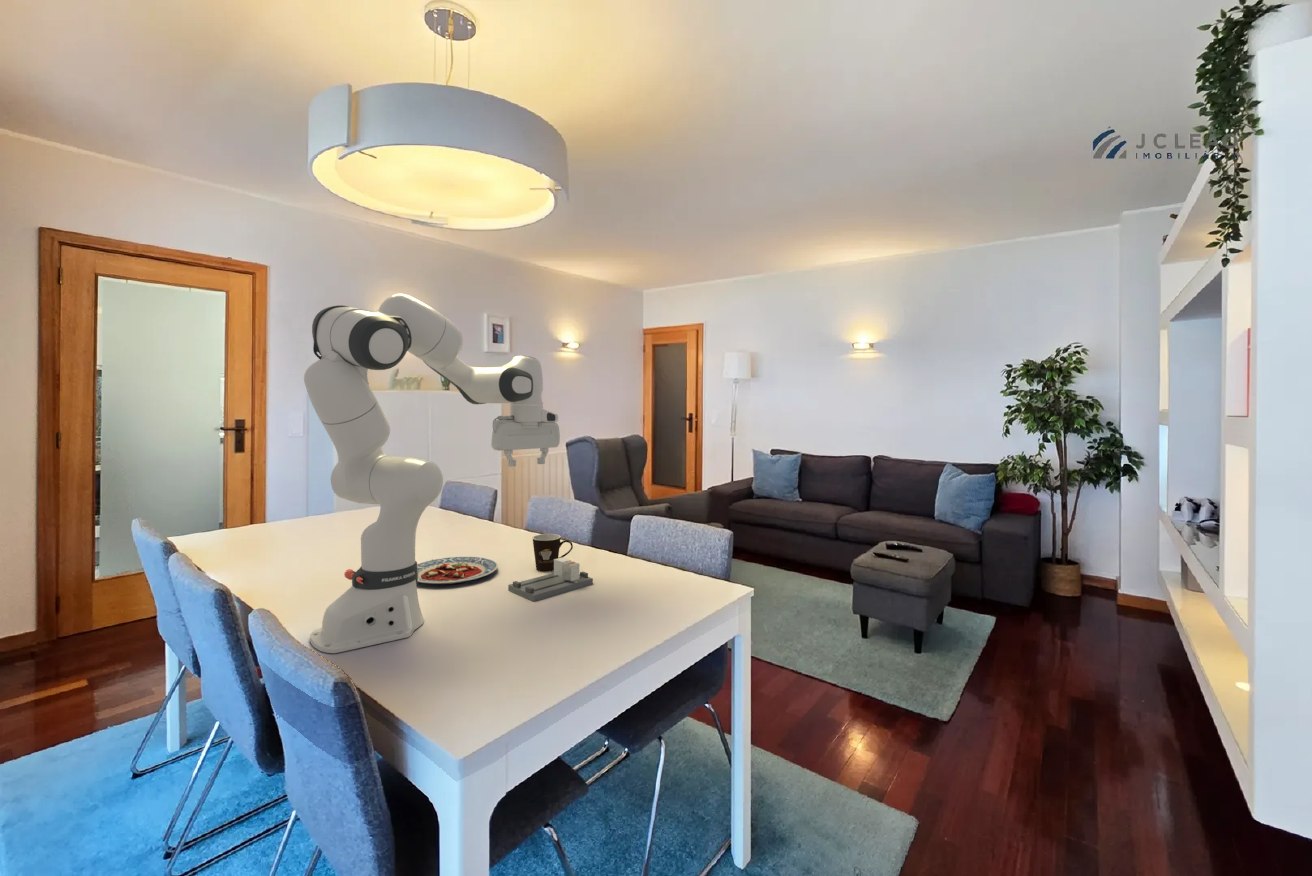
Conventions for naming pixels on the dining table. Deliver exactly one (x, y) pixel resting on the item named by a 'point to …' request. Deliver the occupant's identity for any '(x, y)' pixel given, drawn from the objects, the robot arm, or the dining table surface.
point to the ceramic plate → (454, 569)
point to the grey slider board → (549, 584)
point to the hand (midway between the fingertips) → (526, 465)
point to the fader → (570, 571)
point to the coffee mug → (547, 551)
